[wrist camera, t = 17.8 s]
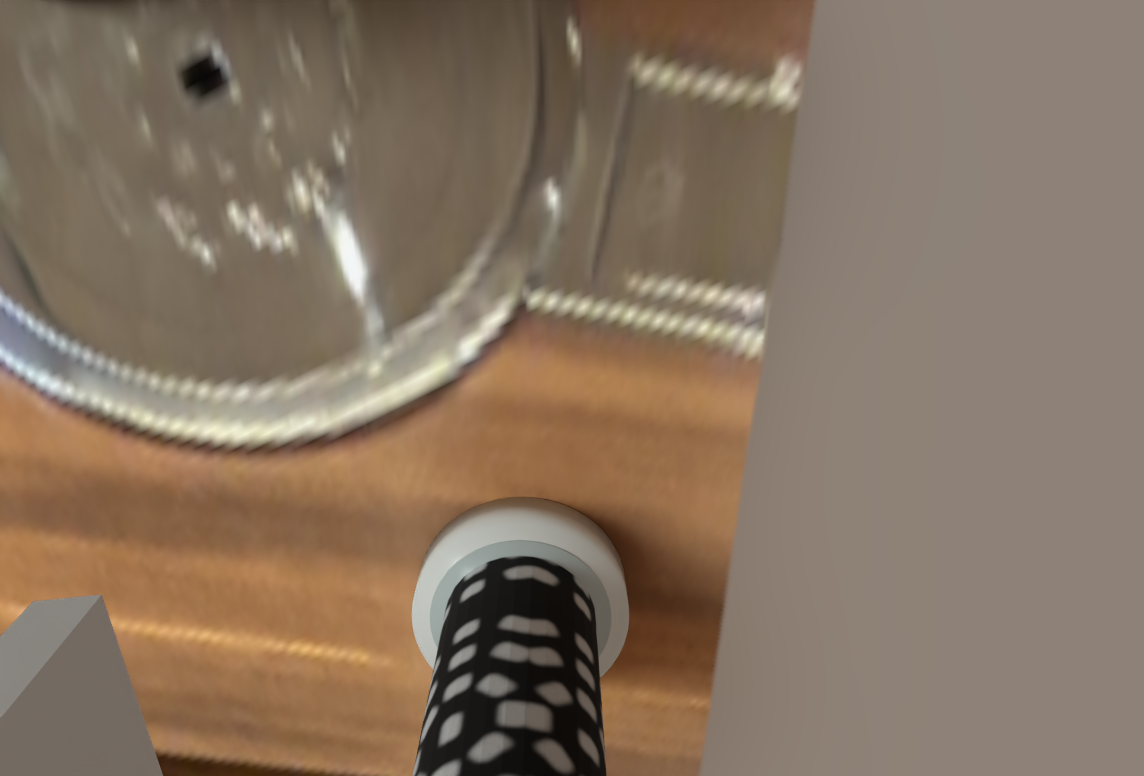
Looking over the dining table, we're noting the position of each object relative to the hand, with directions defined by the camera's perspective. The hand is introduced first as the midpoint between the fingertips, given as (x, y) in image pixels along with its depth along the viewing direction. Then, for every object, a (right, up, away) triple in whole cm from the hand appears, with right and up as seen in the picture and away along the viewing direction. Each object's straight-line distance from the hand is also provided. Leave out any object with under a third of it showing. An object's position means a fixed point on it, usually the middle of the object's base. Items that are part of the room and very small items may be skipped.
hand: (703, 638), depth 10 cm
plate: (-4, -9, +43) cm, 44 cm away
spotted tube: (-4, -10, +40) cm, 41 cm away
